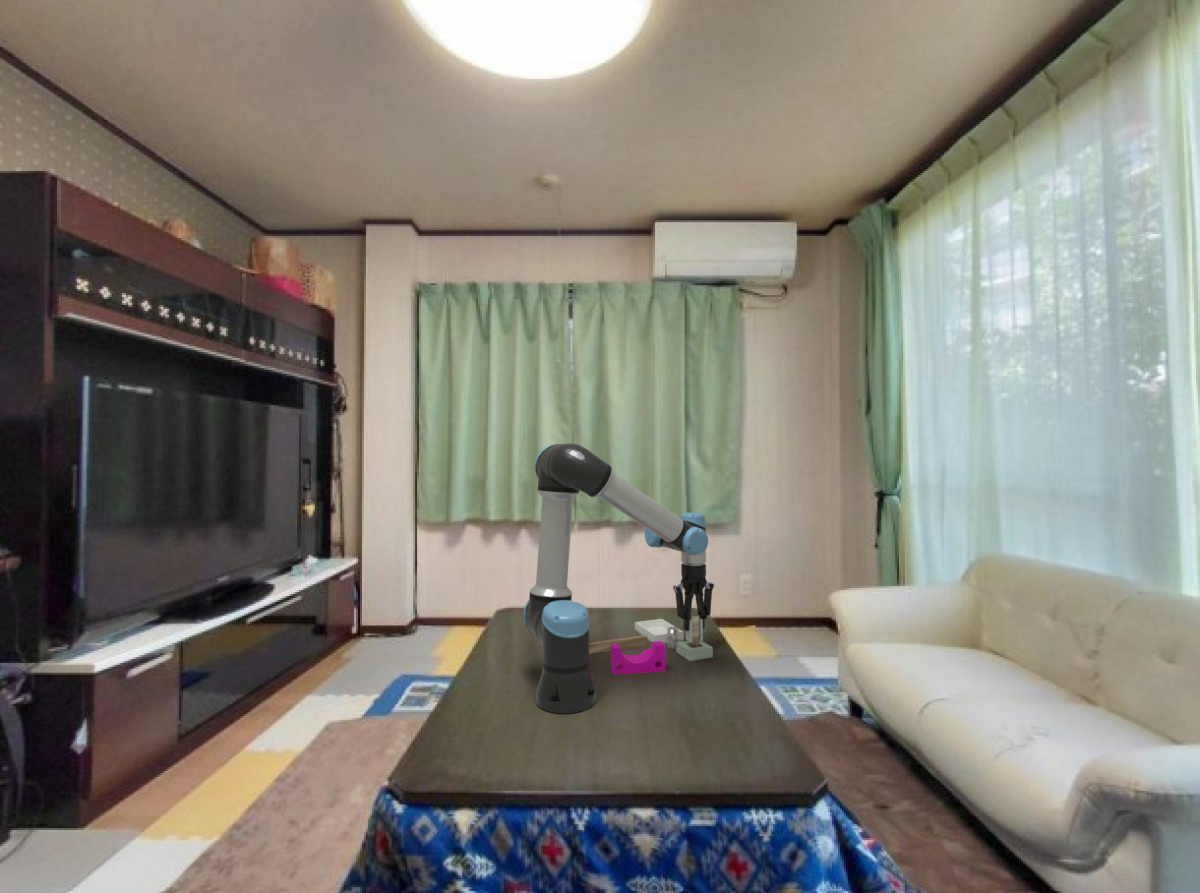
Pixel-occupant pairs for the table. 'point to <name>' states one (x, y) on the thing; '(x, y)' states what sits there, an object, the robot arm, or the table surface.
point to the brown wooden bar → (623, 643)
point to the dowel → (695, 630)
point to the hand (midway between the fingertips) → (694, 639)
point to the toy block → (638, 660)
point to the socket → (694, 650)
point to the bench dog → (672, 637)
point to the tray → (655, 630)
